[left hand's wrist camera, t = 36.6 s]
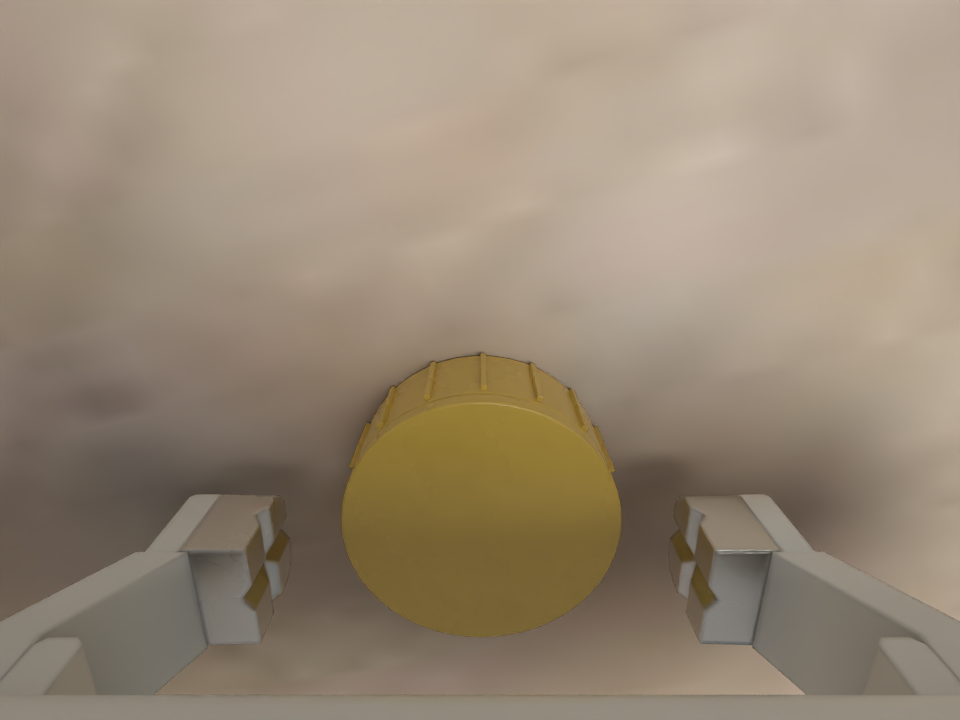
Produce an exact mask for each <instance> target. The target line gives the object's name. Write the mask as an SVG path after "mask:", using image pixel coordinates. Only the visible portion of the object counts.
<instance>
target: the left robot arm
mask: <svg viewBox="0 0 960 720" xmlns="http://www.w3.org/2000/svg"><path fill="white" fill-rule="evenodd" d="M286 517H287V516H286V510H285V504H284V500H283V499H282V498H281V497H280V496H275V495H227V494H225V495H222V494H197V495H193V496H190V497H189V498H188V500H187V501H186V502H185V503H184V504H183V506H182V507H181V508H180V509H179V511H178V512H177V513H176V514H175V515H174V517H173V518H172V519H171V520H170V522H169V523H168V524H167V525H166V527H165V528H164V529H163V530H162V531H161V533H160V534H159V535H158V536H157V538H156V539H155V540H154V541H153V542H152V544H151V545H150V546H149V547H148V549H147V550H146V551H145V552H134V553H132V554H130V555H129V556H127V557H125V558H123V559H121V560H119V561H117V562H115V563H113V564H111V565H109V566H107V567H105V568H103V569H101V570H99V571H97V572H95V573H93V574H91V575H89V576H87V577H86V578H84V579H82V580H80V581H78V582H76V583H74V584H72V585H70V586H68V587H66V588H64V589H62V590H60V591H58V592H56V593H54V594H52V595H50V596H48V597H46V598H45V599H43V600H41V601H39V602H37V603H35V604H33V605H31V606H29V607H27V608H25V609H23V610H21V611H19V612H17V613H15V614H13V615H11V616H9V617H7V618H5V619H3V620H2V621H0V720H960V621H958V620H956V619H954V618H952V617H950V616H948V615H946V614H944V613H942V612H940V611H939V610H937V609H935V608H933V607H931V606H929V605H927V604H925V603H923V602H921V601H919V600H917V599H915V598H913V597H911V596H909V595H907V594H905V593H903V592H902V591H900V590H898V589H896V588H894V587H892V586H890V585H888V584H886V583H884V582H882V581H880V580H878V579H876V578H874V577H872V576H870V575H868V574H866V573H864V572H863V571H861V570H859V569H857V568H855V567H853V566H851V565H849V564H847V563H845V562H843V561H841V560H839V559H837V558H835V557H833V556H831V555H829V554H827V553H826V552H815V551H814V550H813V549H812V547H811V546H810V545H809V544H808V543H807V541H806V540H805V539H804V538H803V536H802V535H801V534H800V533H799V532H798V530H797V529H796V528H795V527H794V525H793V524H792V523H791V522H790V521H789V519H788V518H787V517H786V516H785V514H784V513H783V512H782V511H781V510H780V508H779V507H778V506H777V505H776V504H775V502H774V501H773V500H772V499H771V497H769V496H767V495H765V494H747V495H725V496H678V499H677V501H676V503H675V509H674V515H673V517H674V519H675V521H676V523H677V525H678V527H679V529H678V530H677V531H676V533H675V534H674V535H673V536H672V537H671V538H670V547H669V564H670V572H671V576H672V580H673V583H674V586H675V588H676V590H677V593H679V594H680V595H681V596H683V597H684V598H685V599H687V600H688V602H687V609H686V614H687V616H688V618H689V620H690V623H691V625H692V627H693V629H694V632H695V634H696V636H697V638H698V641H699V643H700V644H734V645H753V648H754V649H755V650H756V651H757V652H758V653H759V654H761V655H762V656H763V657H764V658H765V659H766V660H767V661H769V662H770V663H771V664H772V665H773V666H774V667H775V668H777V669H778V670H779V671H780V672H781V673H782V674H783V675H785V676H786V677H787V678H788V679H789V680H790V681H791V682H793V683H794V684H795V685H796V686H797V687H798V688H799V689H801V690H802V691H803V692H804V693H805V694H806V695H154V694H155V693H156V692H157V691H158V690H159V689H161V688H162V687H163V686H164V685H165V684H166V683H168V682H169V681H170V680H171V679H172V678H173V677H174V676H176V675H177V674H178V673H179V672H180V671H181V670H182V669H184V668H185V667H186V666H187V665H188V664H189V663H191V662H192V661H193V660H194V659H195V658H196V657H197V656H199V655H200V654H201V653H202V652H203V651H204V650H205V649H207V645H226V644H260V643H261V641H262V638H263V636H264V634H265V632H266V629H267V627H268V625H269V622H270V620H271V618H272V616H273V613H274V609H273V602H272V600H273V599H274V598H276V597H277V596H279V595H280V594H281V593H283V590H284V588H285V585H286V583H287V580H288V576H289V570H290V565H291V546H290V538H289V537H288V536H287V535H286V534H285V533H284V532H283V531H282V529H281V527H282V525H283V523H284V521H285V519H286Z"/></svg>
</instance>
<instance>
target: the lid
mask: <svg viewBox="0 0 960 720" xmlns="http://www.w3.org/2000/svg"><path fill="white" fill-rule="evenodd" d="M349 468H352V469H353V470H352V473H351V475H350V478H349V481H348V483H347V486H346V489H345V493H344V497H343V501H342V510H341V527H342V536H343V540H344V544H345V549H346V551H347V554H348V556H349V559H350V561H351V564H352V566H353V567H354V569H355V571H356V573H357V574H358V576H359V578H360V579H361V580H362V582H363V583H364V584H365V585H366V587H367V588H368V589H369V590H370V591H371V592H372V593H373V594H374V595H375V596H376V597H377V598H378V599H379V600H380V601H381V602H382V603H383V604H385V605H386V606H387V607H389V608H390V609H391V610H392V611H394V612H396V613H397V614H399V615H401V616H402V617H404V618H406V619H407V620H410V621H412V622H414V623H416V624H418V625H421V626H423V627H426V628H429V629H432V630H435V631H438V632H443V633H448V634H452V635H459V636H468V637H494V636H505V635H510V634H515V633H520V632H524V631H527V630H530V629H534V628H537V627H539V626H542V625H544V624H546V623H549V622H551V621H553V620H555V619H557V618H558V617H560V616H562V615H564V614H566V613H567V612H568V611H570V610H571V609H573V608H574V607H575V606H577V605H578V604H579V603H581V602H582V601H583V600H584V599H585V598H586V597H587V596H588V595H589V594H590V593H591V592H592V591H593V590H594V589H595V587H596V586H597V585H598V584H599V583H600V581H601V580H602V578H603V577H604V575H605V574H606V572H607V570H608V569H609V567H610V565H611V562H612V560H613V558H614V556H615V553H616V550H617V546H618V543H619V539H620V532H621V524H622V518H621V504H620V499H619V494H618V490H617V487H616V485H615V482H614V479H613V477H612V474H611V472H614V471H615V469H614V466H613V464H612V461H611V459H610V456H609V454H608V451H607V449H606V446H605V444H604V441H603V439H602V436H601V434H600V431H599V429H598V427H597V426H595V427H593V425H592V422H591V420H590V418H589V417H588V415H587V413H586V411H585V409H584V408H583V406H582V405H581V404H580V402H579V401H578V398H577V395H576V393H575V391H574V390H573V389H571V390H568V389H567V388H566V387H565V386H564V385H563V384H561V383H560V382H559V381H557V380H556V379H555V378H553V377H552V376H550V375H549V374H547V373H545V372H543V371H541V370H540V369H538V368H536V365H535V364H533V363H530V365H528V364H526V363H523V362H519V361H515V360H512V359H508V358H501V357H494V356H486V353H481V354H480V356H470V357H461V358H455V359H451V360H447V361H443V362H440V363H436V361H434V362H432V363H431V364H430V366H429V367H427V368H425V369H423V370H421V371H419V372H417V373H415V374H413V375H412V376H411V377H409V378H408V379H406V380H405V381H404V382H402V383H401V384H400V385H399V386H398V387H396V388H395V387H394V386H393V387H391V388H390V390H389V393H388V396H387V398H386V399H385V400H384V402H383V403H382V404H381V405H380V407H379V409H378V410H377V412H376V414H375V415H374V417H373V419H372V421H371V424H369V423H366V425H365V427H364V430H363V432H362V435H361V437H360V440H359V442H358V445H357V447H356V450H355V452H354V455H353V457H352V460H351V462H350V465H349Z"/></svg>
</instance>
